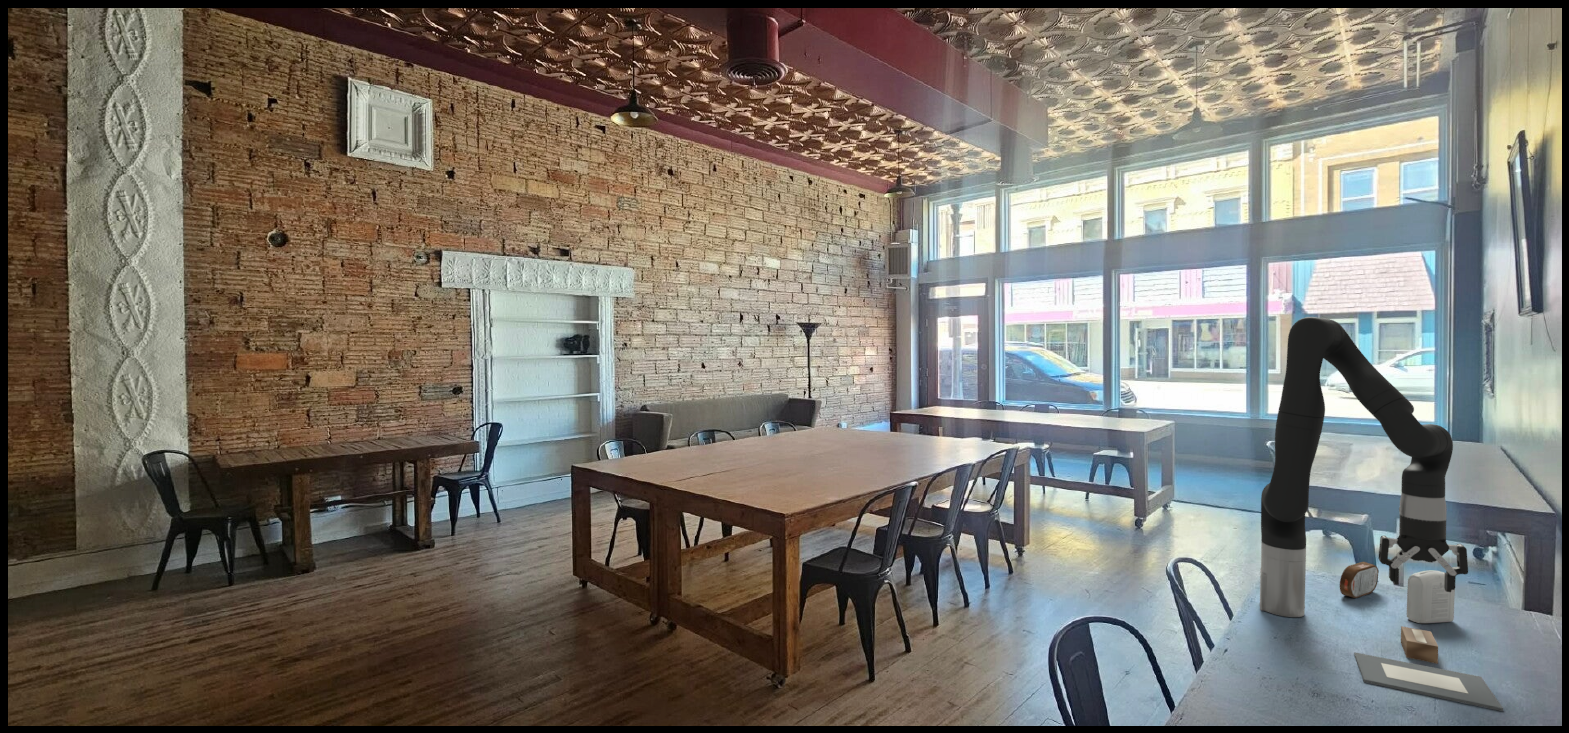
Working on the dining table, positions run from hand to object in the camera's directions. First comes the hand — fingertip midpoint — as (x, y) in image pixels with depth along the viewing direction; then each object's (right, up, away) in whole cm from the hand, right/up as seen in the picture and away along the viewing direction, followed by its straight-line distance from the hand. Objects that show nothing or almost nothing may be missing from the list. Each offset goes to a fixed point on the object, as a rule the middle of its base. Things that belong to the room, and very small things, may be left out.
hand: (1421, 587), depth 150 cm
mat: (-11, -15, -12) cm, 22 cm away
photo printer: (+18, -14, +17) cm, 29 cm away
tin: (+15, -13, +34) cm, 39 cm away
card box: (0, -15, +1) cm, 15 cm away
